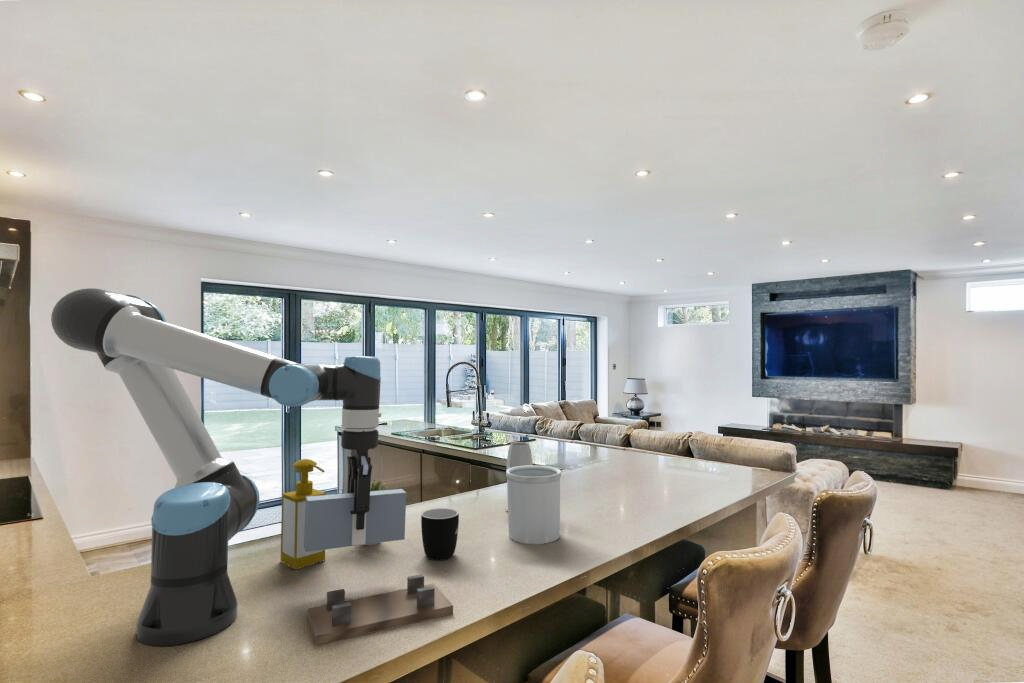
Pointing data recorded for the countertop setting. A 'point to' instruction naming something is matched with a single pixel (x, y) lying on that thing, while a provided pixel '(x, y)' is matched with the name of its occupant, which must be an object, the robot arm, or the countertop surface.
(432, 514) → the mug
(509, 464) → the wineglass
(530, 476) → the utensil holder
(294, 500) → the soap bottle
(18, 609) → the countertop surface
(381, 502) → the door panel
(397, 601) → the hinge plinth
